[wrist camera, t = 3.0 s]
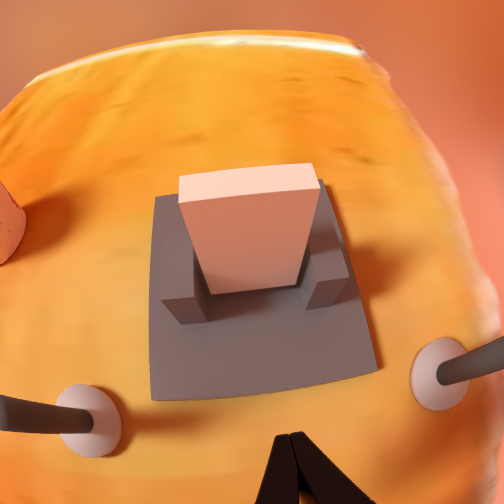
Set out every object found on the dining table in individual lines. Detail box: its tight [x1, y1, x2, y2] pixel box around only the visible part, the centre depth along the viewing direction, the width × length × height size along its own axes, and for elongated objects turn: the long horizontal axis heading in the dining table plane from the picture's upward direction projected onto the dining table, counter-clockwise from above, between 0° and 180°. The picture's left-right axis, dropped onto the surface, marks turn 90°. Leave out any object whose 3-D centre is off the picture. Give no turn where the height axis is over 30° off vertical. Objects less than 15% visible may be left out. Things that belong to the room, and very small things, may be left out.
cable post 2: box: [410, 336, 504, 411], centre depth 14 cm, size 6×6×10 cm
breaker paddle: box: [178, 163, 321, 295], centre depth 17 cm, size 2×6×10 cm, turn 97°
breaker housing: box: [149, 179, 378, 401], centre depth 21 cm, size 18×16×6 cm
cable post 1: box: [0, 384, 122, 458], centre depth 13 cm, size 6×6×10 cm
